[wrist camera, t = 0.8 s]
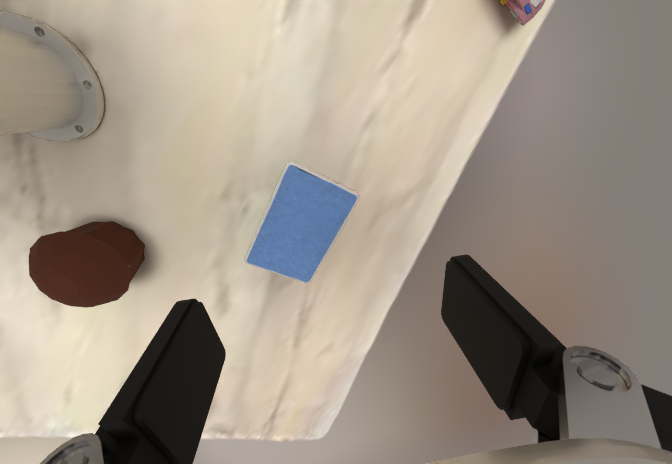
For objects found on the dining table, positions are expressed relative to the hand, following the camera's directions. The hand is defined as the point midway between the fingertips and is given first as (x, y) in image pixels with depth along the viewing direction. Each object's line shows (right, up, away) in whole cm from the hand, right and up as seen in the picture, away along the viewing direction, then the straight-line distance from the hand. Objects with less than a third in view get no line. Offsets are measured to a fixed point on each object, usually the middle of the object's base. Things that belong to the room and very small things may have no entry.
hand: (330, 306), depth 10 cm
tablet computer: (-6, +4, +33) cm, 34 cm away
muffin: (-35, +1, +30) cm, 46 cm away
